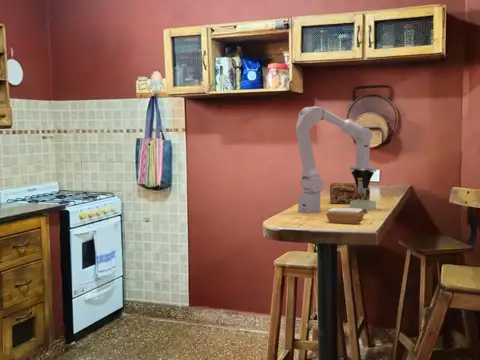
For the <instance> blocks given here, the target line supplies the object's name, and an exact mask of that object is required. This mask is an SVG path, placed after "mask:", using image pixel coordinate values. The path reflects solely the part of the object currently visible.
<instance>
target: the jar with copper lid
mask: <svg viewBox="0 0 480 360" xmlns="http://www.w3.org/2000/svg"><path fill="white" fill-rule="evenodd" d="M357 180H358V194H360V195H364V194H366V188H363V180H362V178H357Z"/></svg>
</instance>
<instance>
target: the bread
mask: <svg viewBox="0 0 480 360" xmlns="http://www.w3.org/2000/svg"><path fill="white" fill-rule="evenodd" d="M370 195H371V187H370V186H368V188H366V194H364V195H360V194H358V188H357V187H356V183H355V182H332V183H330V185H329V200H330V201H329V202H330V203H329V204H332V205H334V204H338V205H339V204H340V205H350V201H354V200H370V198H371V196H370Z"/></svg>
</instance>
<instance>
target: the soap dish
mask: <svg viewBox="0 0 480 360" xmlns="http://www.w3.org/2000/svg"><path fill="white" fill-rule="evenodd" d="M362 210H363V209H356V208H350V207H333V208H332V207H331V208H330V209H328V210H327V211H328V212H327V213H325V215H326V217H327V218H326V219H328V222H329V223H332V224H333V223H334V224H350V225H351V224H353V225H358V224H359V223H361V220H363V219H364V215H365V214H364V213H365V212H362Z"/></svg>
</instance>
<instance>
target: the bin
mask: <svg viewBox="0 0 480 360" xmlns="http://www.w3.org/2000/svg"><path fill="white" fill-rule="evenodd" d="M349 208H357V209H367V211H370V210H374V209H376V208H377V201H376V200H370V199H369V200H354V201H350V204H349Z"/></svg>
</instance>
